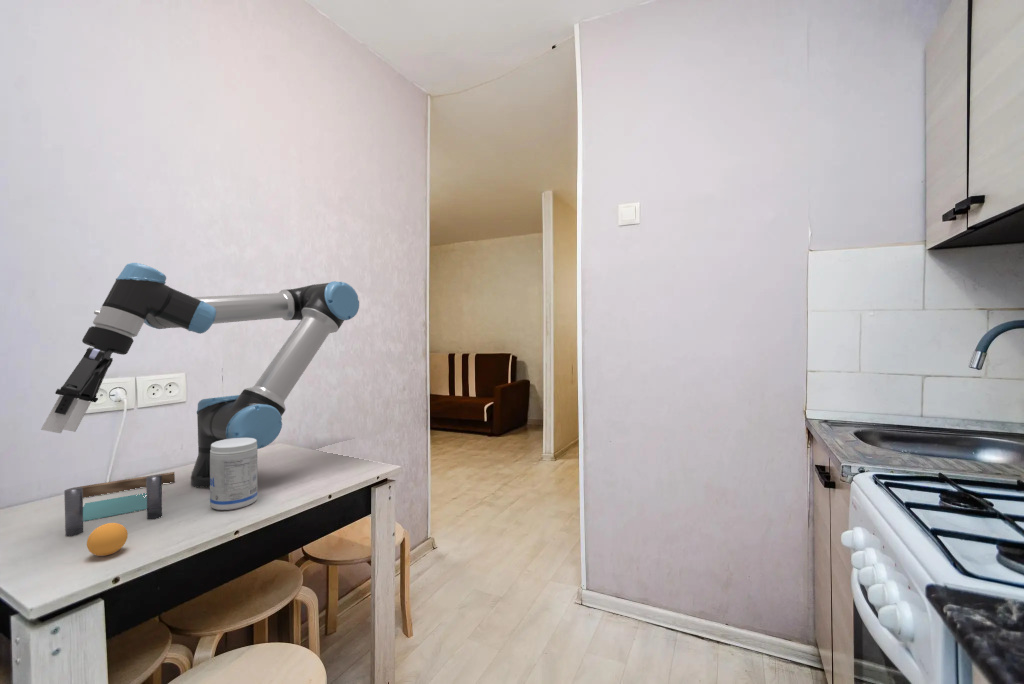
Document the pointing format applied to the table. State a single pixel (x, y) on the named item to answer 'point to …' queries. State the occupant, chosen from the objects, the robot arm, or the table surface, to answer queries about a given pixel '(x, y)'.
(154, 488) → the right post
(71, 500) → the left post
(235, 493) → the supplement tub
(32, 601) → the table surface
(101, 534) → the ball
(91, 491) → the brown wooden bar
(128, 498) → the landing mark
